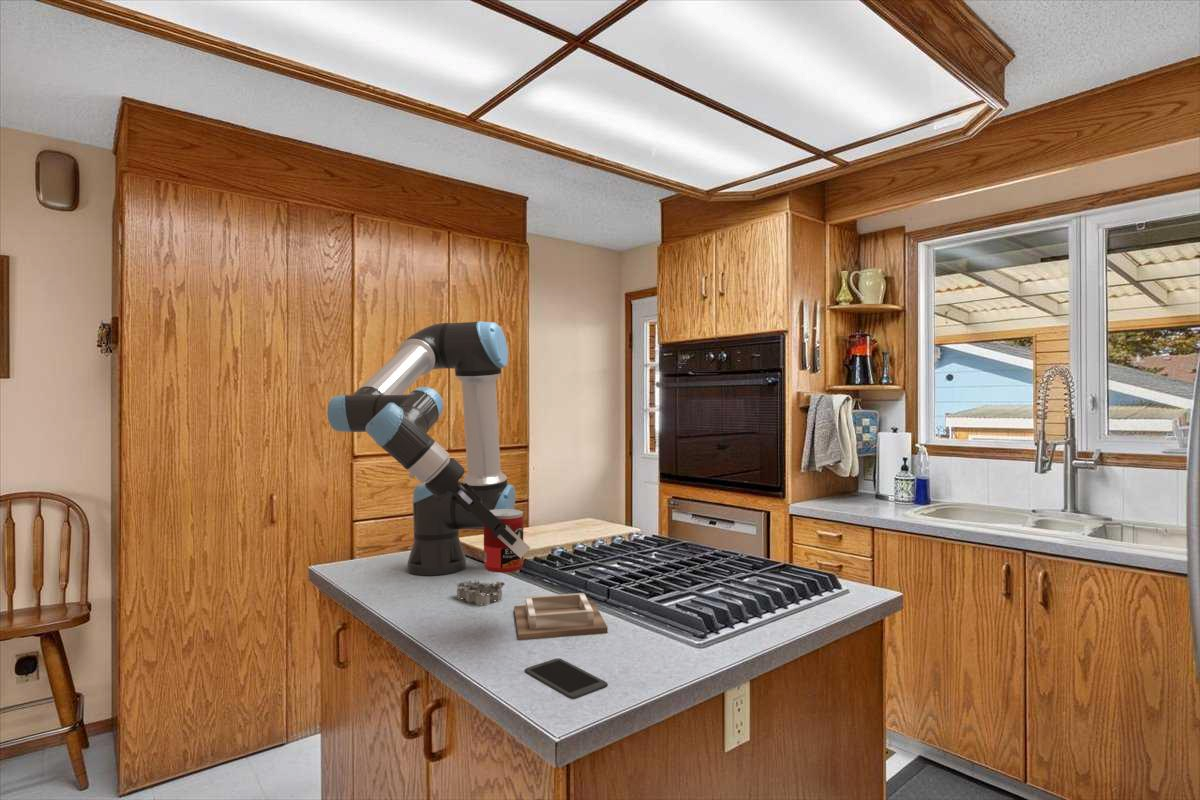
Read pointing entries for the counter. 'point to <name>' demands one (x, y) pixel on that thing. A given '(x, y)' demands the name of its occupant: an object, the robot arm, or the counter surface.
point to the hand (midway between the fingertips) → (520, 547)
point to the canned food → (498, 552)
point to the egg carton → (473, 591)
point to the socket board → (558, 616)
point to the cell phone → (566, 678)
